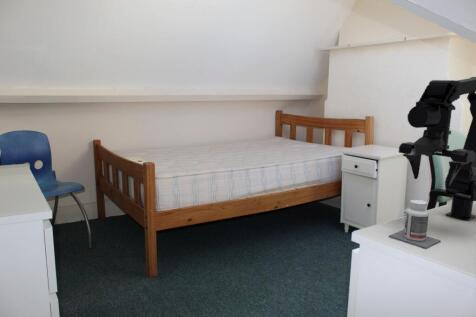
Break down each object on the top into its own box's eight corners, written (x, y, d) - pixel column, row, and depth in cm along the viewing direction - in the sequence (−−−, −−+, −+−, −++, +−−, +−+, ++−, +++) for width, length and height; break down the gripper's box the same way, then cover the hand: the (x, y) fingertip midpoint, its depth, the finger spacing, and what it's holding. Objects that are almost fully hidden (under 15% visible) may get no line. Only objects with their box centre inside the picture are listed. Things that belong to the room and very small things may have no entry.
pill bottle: (430, 239, 107) (434, 202, 105) (417, 243, 104) (421, 205, 102) (411, 232, 111) (415, 197, 110) (399, 236, 108) (402, 200, 107)
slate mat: (404, 230, 114) (404, 229, 114) (440, 241, 107) (440, 240, 106) (388, 236, 109) (388, 235, 109) (425, 249, 101) (426, 247, 101)
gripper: (391, 124, 115) (386, 179, 118) (461, 131, 101) (453, 193, 104) (411, 123, 122) (405, 174, 125) (479, 129, 108) (471, 187, 111)
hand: (431, 182), depth 116 cm, fingers open, 9 cm apart
